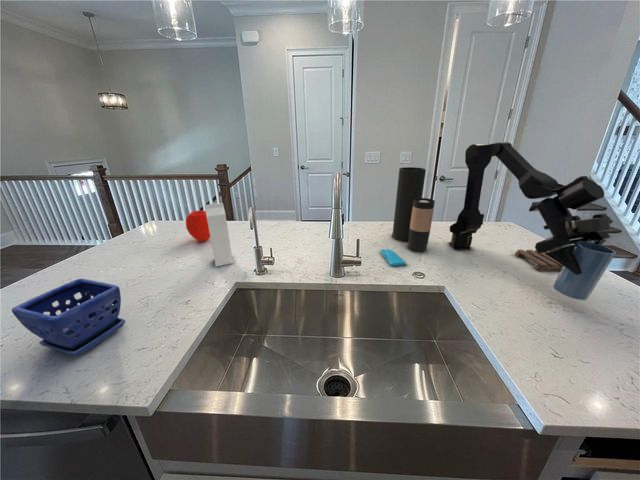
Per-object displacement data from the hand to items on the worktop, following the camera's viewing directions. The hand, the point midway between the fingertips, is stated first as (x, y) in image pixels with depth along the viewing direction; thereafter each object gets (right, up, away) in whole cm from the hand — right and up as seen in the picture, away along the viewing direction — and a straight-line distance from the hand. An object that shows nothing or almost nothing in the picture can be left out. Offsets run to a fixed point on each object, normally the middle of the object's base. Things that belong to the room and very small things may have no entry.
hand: (589, 272), depth 66 cm
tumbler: (-1, -6, +4) cm, 7 cm away
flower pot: (-124, -15, -5) cm, 125 cm away
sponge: (-42, +1, +31) cm, 52 cm away
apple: (-121, +8, +50) cm, 131 cm away
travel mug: (-29, +5, +39) cm, 49 cm away
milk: (-105, 0, +30) cm, 109 cm away
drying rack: (+13, 0, +27) cm, 30 cm away
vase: (-31, +9, +50) cm, 60 cm away
